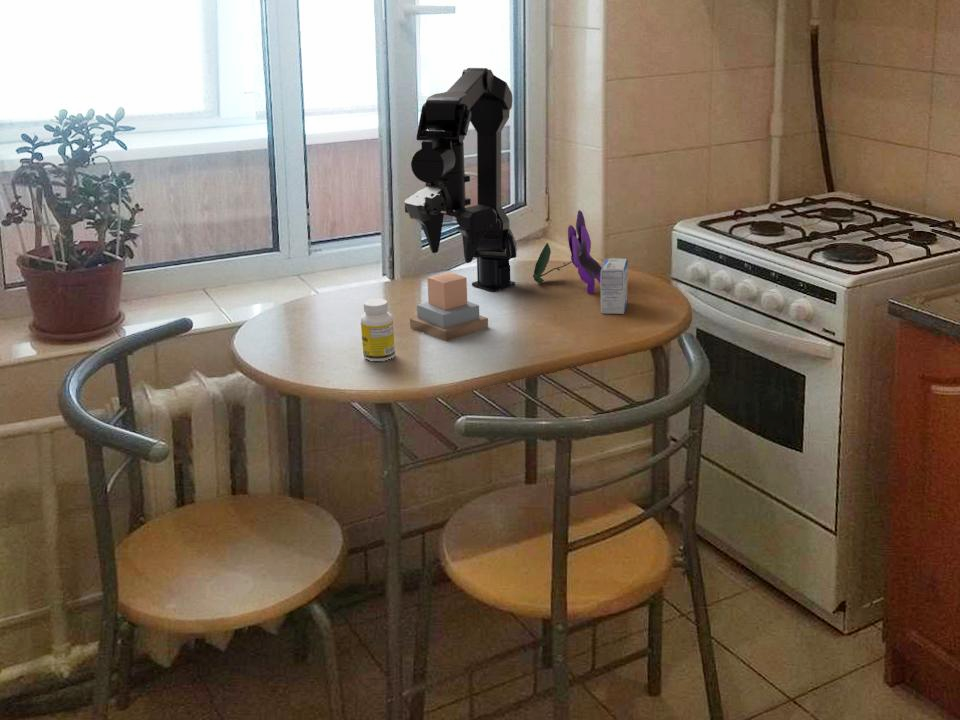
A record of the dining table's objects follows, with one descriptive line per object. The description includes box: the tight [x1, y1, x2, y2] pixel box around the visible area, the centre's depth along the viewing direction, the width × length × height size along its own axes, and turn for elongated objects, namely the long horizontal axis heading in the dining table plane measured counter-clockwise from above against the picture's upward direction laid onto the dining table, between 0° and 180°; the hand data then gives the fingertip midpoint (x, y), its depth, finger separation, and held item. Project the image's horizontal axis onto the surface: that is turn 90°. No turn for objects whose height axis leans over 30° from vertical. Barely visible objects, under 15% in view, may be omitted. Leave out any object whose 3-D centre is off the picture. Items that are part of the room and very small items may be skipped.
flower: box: [532, 209, 603, 294], centre depth 223 cm, size 15×15×14 cm
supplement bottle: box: [360, 298, 396, 362], centre depth 187 cm, size 5×5×10 cm
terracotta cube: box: [426, 271, 468, 310], centre depth 200 cm, size 5×5×5 cm
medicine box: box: [600, 257, 629, 315], centre depth 209 cm, size 8×4×9 cm, turn 168°
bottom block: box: [409, 314, 489, 342], centre depth 202 cm, size 10×10×2 cm
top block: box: [416, 300, 480, 329], centre depth 201 cm, size 8×8×2 cm
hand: (451, 257), depth 199 cm, fingers open, 9 cm apart
